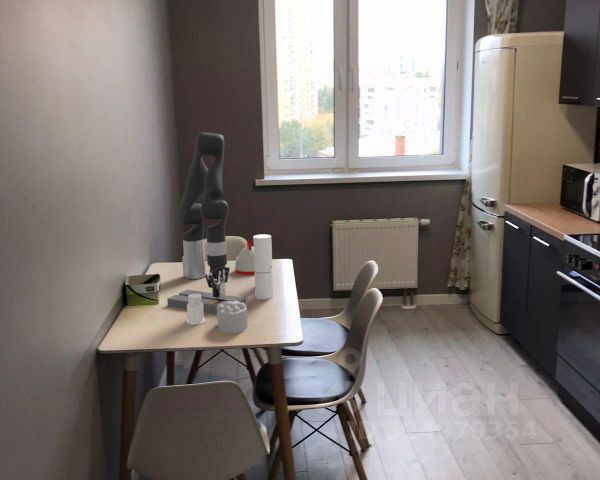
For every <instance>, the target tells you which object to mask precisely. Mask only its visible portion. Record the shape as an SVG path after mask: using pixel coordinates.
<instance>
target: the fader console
mask: <svg viewBox="0 0 600 480" xmlns="http://www.w3.org/2000/svg"><path fill="white" fill-rule="evenodd" d="M195 293H196V294H201V303H203V311H204V312H205V313H211V314H217V306H218V305H219V304H222V303H223V302H226V301H239V302H241V303H244V304H245V305H246V306H247V298H246V297H244V296H236V295H229V294H225V297H224V298H222V301H218V300H217V298H212V292H207V291H200V290H192V289H185V290H183V291H181V292H179V293H178V294H174V295H172V296H170V297H167V299H166V301H167V307H174V308H180V309H186V310H187V304H188V303H189V301H188V295H190V294H195Z"/></svg>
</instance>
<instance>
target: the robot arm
mask: <svg viewBox="0 0 600 480" xmlns="http://www.w3.org/2000/svg"><path fill="white" fill-rule="evenodd" d="M203 156H205V157H212V158H213V157H214V158H215V159H214V162H213V163H212V165H211V167H209V169H208V167H207V166H206V164H205V162H204V159H203ZM224 156H225V138H224V135H222V134H219V133H213V132H208V131H205V132H203V131H202V132H201V131H200V132H198V134H197V136H196V139H195V144H194V150H193V155H192V162H191V165H190V168H189V172H188V175H187V180H186V183H185V189H184V192H183V194H182V195H183V196H182V198H181V201H180V204H179V205H178V209H177V220H178V223H179V224H180V225H182V226H192V225H193V226H192V227H191V228H190V229H188V230H187V231H185V232H183V234H182V245H183V256H181V258H182V259H181V260H182V277H183V278H186V279H189V280H196V279H197V280H198V279H203V278H205V280H206V284H207V285H208V288H210V289H212V288H213V297H215V298H218V297H219V288H218V287H219V282H225V284H226V283H228V281H229V280H228V279H229V274H230V269H231V267H228V266H227V267H226V265H228V256H227V254H228V253H227V251H228V250H227V242H226V225H227V224H226V223H227V219H228V216H229V211H230V207H229V204H228V202H227V201H226V200H222V197H223V194H224V189H223V187H224V186H223V168H224V161H225V160H224V158H225V157H224ZM202 197H203V198H202ZM201 198H202V202H201V203H199V202H198V203H197V201H198V200H199V199H201ZM204 220H206V221H207V220H219V221H218V222H217V223H215V224H211V225H208V226H207V227H206V230H205V223H204V222H205V221H204ZM205 232H206V256H205V240H204V239H205V238H204V235H205ZM206 265H208V267H209V271H208V272H209V273H208V274H207V273H206ZM215 282H216V285H215Z"/></svg>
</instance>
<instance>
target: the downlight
mask: <svg viewBox="0 0 600 480" xmlns="http://www.w3.org/2000/svg"><path fill="white" fill-rule="evenodd" d="M188 301H189V303H188V304H187V309H186V312H187V319H186V320H185V321H186V323H187V324H189V325H200V324H203V323H205V322H206V318H205V316H204V315H205V313H204V312H205V311H203V303H201V294H196V293H195V294H190V295H188Z"/></svg>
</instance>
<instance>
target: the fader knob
mask: <svg viewBox="0 0 600 480" xmlns="http://www.w3.org/2000/svg"><path fill="white" fill-rule="evenodd" d="M215 285H216V282H215ZM218 288H219V297H218V298H217V300H218V301H222V298H224V297H225V295H226V283H225V282H219V287H218ZM211 293H212V298H215V297H213V288H211Z"/></svg>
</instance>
